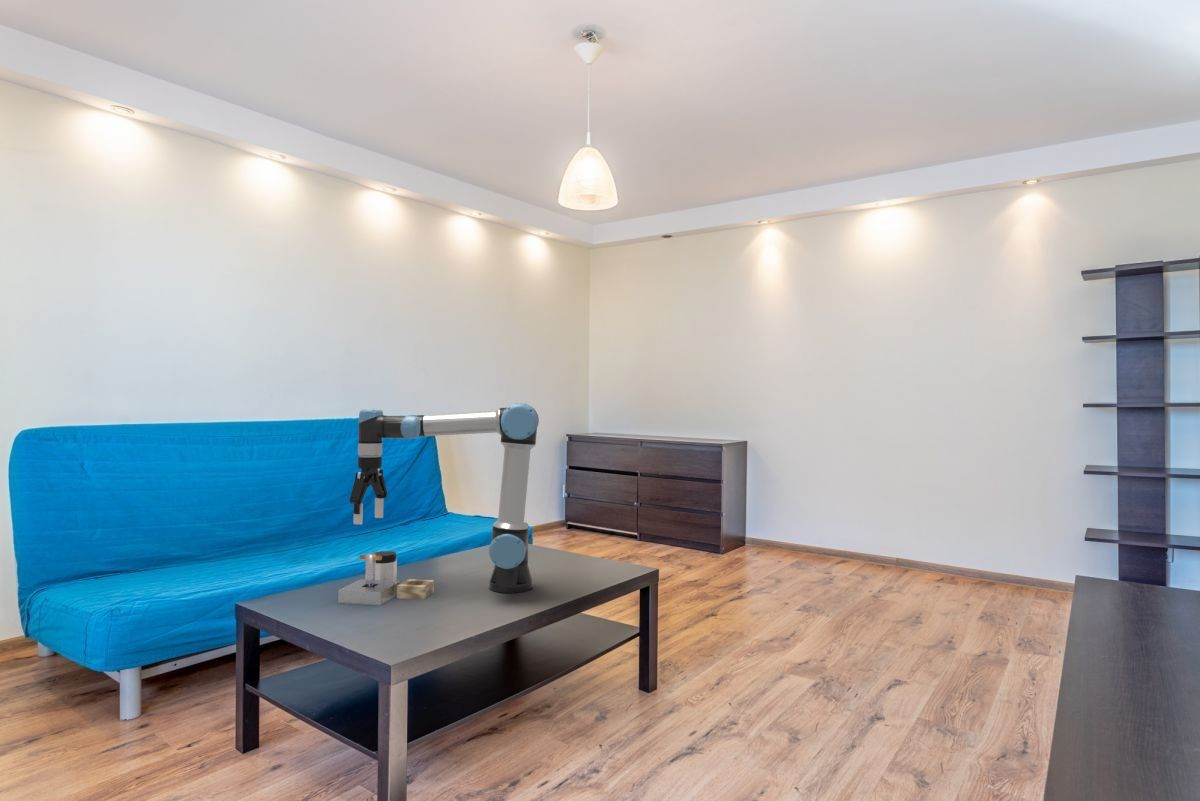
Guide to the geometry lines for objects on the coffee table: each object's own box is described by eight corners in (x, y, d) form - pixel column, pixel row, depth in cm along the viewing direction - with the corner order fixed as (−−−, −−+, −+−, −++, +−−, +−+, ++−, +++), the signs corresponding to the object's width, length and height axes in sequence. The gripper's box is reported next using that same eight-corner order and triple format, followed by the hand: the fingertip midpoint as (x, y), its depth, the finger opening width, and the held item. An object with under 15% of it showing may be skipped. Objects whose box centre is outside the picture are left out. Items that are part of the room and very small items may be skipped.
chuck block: (399, 596, 223) (400, 581, 223) (380, 608, 209) (380, 592, 209) (359, 594, 225) (360, 579, 225) (338, 606, 211) (338, 590, 211)
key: (382, 597, 218) (383, 553, 218) (377, 599, 215) (378, 555, 215) (361, 596, 219) (362, 553, 219) (357, 598, 216) (358, 554, 216)
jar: (373, 592, 227) (374, 556, 228) (367, 587, 234) (367, 552, 235) (399, 589, 232) (400, 554, 233) (393, 583, 239) (393, 550, 239)
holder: (434, 595, 225) (434, 580, 225) (423, 602, 216) (423, 587, 216) (408, 593, 226) (408, 578, 226) (396, 601, 217) (397, 585, 218)
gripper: (378, 453, 235) (376, 514, 234) (338, 458, 210) (337, 526, 210) (398, 454, 233) (397, 515, 233) (360, 458, 209) (359, 527, 208)
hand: (368, 520), depth 221 cm, fingers open, 13 cm apart
